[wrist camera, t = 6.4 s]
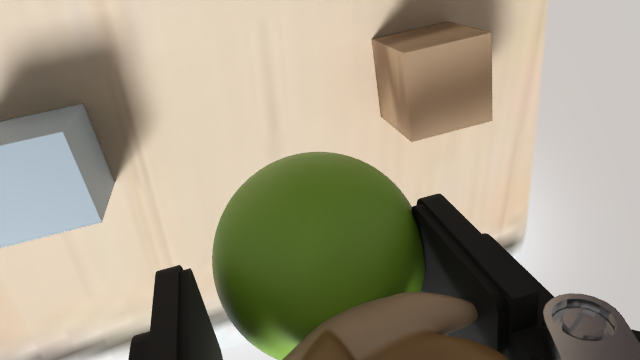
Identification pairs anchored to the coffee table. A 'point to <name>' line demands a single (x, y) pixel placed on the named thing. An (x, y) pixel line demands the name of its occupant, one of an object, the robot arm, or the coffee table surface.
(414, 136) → the walnut block
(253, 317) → the snail figurine
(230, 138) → the coffee table surface
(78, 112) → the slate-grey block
